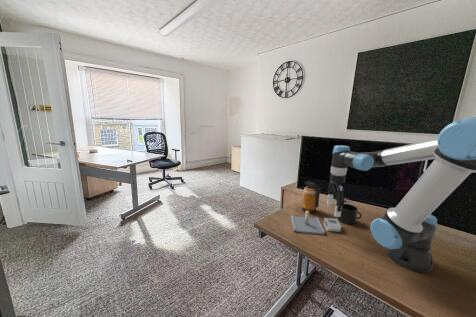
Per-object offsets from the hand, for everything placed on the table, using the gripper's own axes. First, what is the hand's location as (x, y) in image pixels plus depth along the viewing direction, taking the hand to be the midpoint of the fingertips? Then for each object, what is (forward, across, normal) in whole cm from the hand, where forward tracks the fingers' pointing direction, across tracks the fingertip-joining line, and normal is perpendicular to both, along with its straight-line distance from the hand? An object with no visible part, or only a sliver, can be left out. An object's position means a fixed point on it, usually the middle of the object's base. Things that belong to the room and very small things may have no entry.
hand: (333, 210), depth 108 cm
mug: (+11, +10, -13) cm, 20 cm away
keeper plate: (+11, 0, +14) cm, 17 cm away
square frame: (+11, 0, 0) cm, 11 cm away
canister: (+11, +20, +8) cm, 24 cm away
